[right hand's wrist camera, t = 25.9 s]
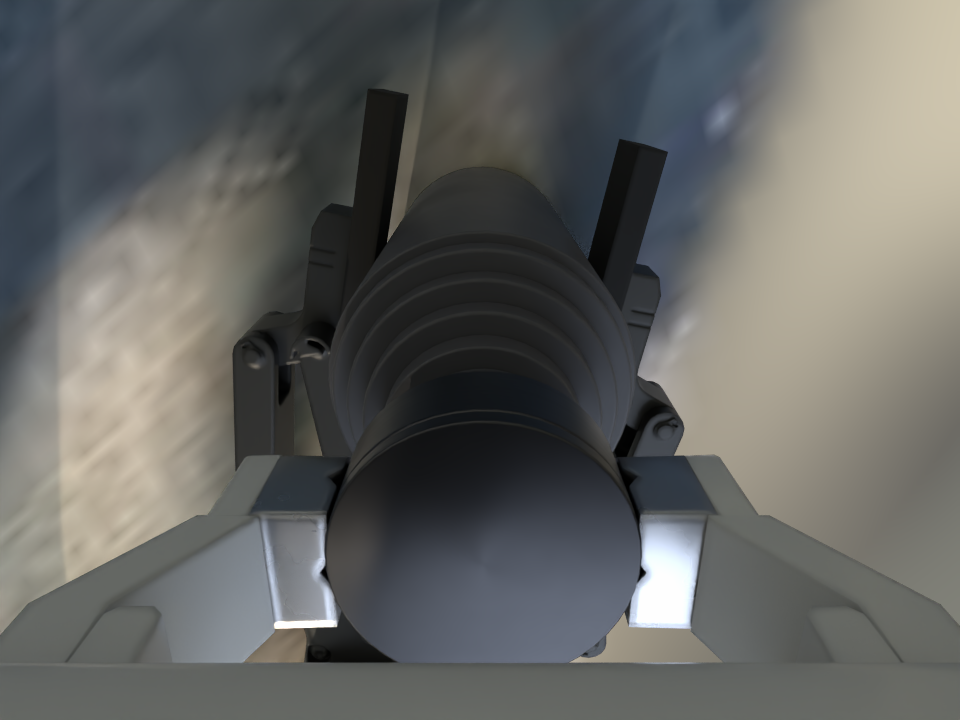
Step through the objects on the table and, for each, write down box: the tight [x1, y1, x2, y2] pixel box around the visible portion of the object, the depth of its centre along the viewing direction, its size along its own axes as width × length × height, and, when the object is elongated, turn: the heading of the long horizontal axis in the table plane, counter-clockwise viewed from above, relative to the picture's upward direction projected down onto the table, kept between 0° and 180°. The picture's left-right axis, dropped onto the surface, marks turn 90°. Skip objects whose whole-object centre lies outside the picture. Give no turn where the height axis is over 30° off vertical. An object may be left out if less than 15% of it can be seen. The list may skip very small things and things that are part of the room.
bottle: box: [329, 167, 636, 454], centre depth 17 cm, size 6×6×18 cm
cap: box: [324, 371, 642, 663], centre depth 9 cm, size 4×4×2 cm
